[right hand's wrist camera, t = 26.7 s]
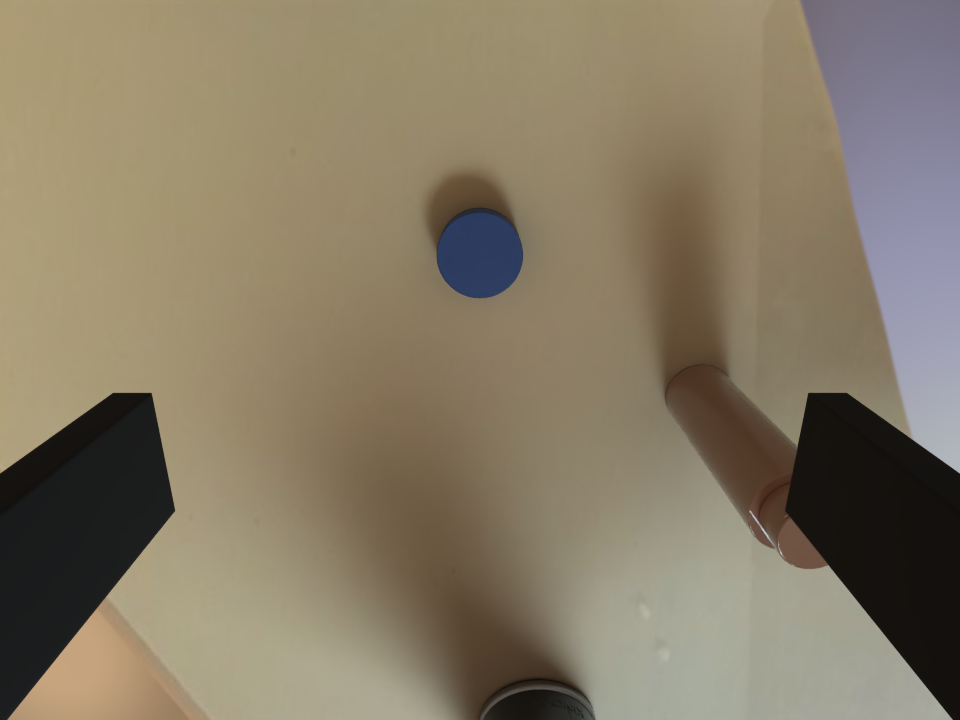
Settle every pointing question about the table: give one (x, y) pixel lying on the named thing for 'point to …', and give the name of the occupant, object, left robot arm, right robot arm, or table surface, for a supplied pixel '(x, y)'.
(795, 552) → the bottle
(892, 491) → the right robot arm
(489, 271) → the lid
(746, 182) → the table surface
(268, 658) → the table surface
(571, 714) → the left robot arm
